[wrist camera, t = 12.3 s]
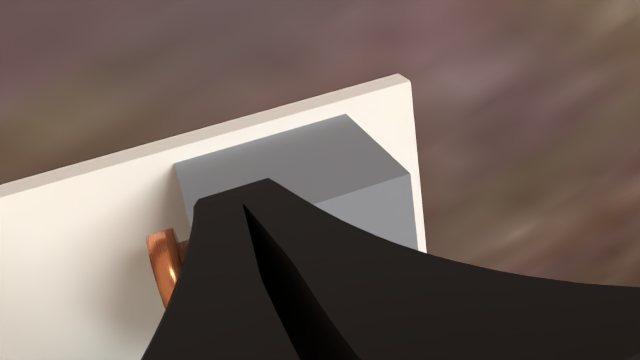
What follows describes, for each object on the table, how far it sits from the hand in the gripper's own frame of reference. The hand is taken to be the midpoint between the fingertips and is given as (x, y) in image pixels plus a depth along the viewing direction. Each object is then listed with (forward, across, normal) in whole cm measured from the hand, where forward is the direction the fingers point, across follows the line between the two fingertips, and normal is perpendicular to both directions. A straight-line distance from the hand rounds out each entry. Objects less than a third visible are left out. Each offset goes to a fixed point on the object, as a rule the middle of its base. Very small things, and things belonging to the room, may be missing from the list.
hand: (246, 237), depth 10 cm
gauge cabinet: (+10, -2, +5) cm, 12 cm away
